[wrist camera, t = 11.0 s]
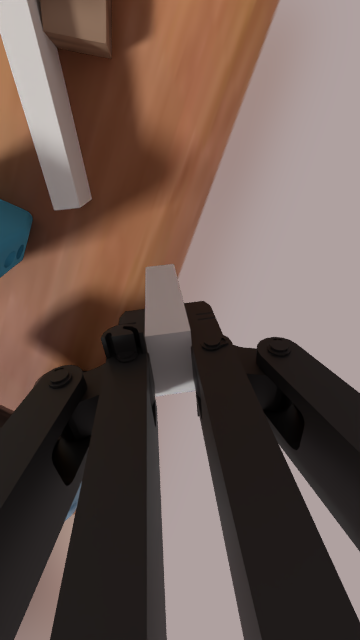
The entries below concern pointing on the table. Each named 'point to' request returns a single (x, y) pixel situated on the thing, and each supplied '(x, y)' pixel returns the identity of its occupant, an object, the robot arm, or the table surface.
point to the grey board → (44, 102)
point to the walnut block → (79, 25)
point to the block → (13, 235)
